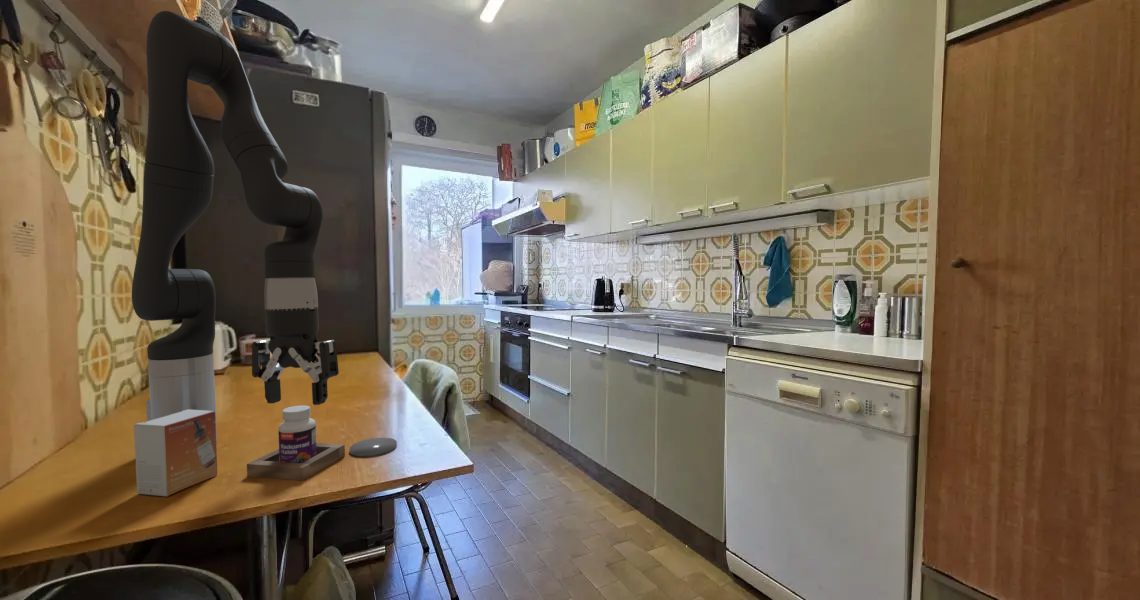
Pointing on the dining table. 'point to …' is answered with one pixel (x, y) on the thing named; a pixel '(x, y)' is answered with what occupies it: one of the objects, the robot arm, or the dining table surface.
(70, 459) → the dining table surface
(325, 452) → the frame
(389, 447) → the coaster
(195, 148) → the robot arm
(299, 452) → the pill bottle
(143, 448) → the small box
